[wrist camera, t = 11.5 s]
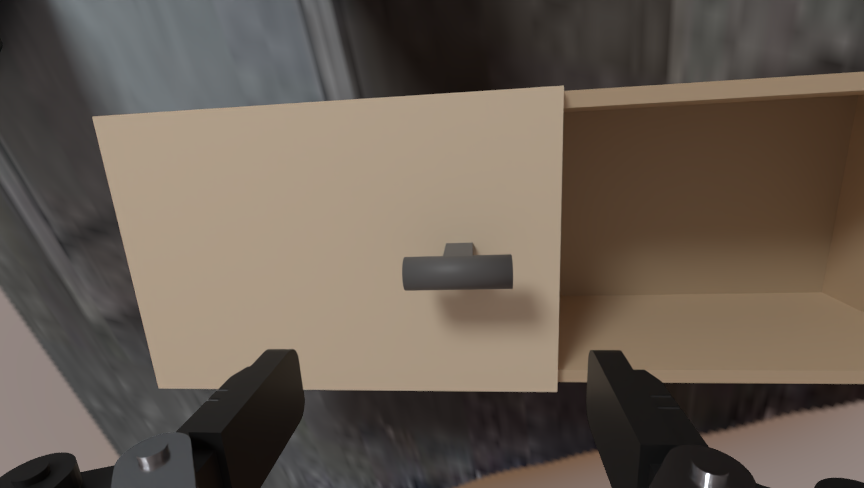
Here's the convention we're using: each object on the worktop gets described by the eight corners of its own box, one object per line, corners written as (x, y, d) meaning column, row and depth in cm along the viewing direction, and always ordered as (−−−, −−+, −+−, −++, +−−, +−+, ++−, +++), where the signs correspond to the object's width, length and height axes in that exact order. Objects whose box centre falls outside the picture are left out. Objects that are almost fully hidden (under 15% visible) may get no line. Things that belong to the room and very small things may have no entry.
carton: (863, 82, 30) (1102, 56, 19) (823, 297, 34) (999, 385, 23) (513, 104, 33) (533, 93, 21) (514, 301, 37) (532, 381, 25)
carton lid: (561, 86, 21) (581, 77, 17) (555, 385, 25) (570, 435, 21) (101, 116, 24) (24, 115, 20) (165, 382, 28) (112, 426, 24)
